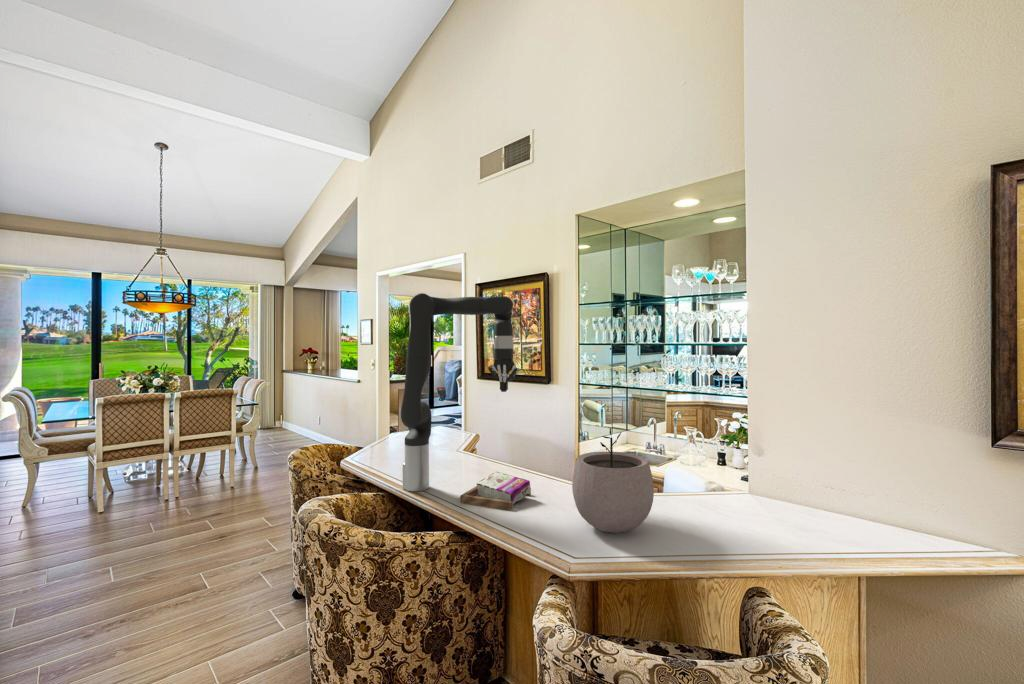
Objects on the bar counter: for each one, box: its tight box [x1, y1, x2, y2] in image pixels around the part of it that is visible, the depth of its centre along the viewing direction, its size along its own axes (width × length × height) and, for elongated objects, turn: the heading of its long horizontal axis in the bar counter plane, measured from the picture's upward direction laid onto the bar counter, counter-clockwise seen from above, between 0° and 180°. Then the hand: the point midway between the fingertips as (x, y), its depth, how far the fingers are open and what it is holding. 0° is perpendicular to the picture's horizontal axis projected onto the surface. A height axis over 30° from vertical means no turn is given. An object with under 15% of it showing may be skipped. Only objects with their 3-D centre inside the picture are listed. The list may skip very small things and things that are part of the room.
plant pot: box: [571, 427, 655, 534], centre depth 141 cm, size 24×24×30 cm
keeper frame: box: [459, 485, 532, 511], centre depth 169 cm, size 20×18×2 cm
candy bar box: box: [476, 471, 532, 506], centre depth 170 cm, size 11×5×16 cm
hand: (503, 391), depth 185 cm, fingers closed
